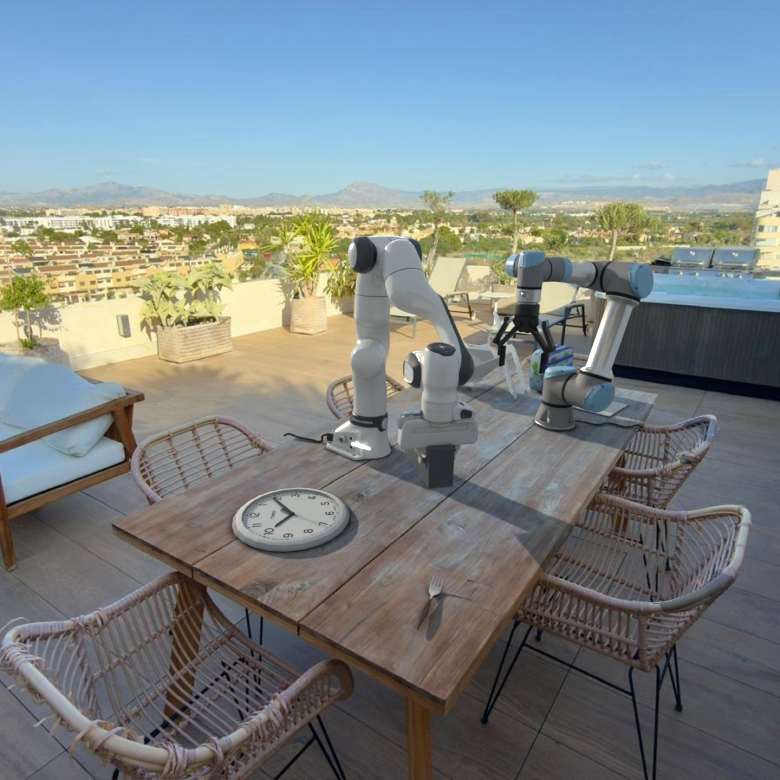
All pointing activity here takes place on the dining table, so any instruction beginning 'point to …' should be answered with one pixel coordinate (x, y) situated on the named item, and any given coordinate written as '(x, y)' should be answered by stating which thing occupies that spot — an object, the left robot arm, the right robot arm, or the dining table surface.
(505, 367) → the white plastic object
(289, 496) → the wall clock
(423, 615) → the fork
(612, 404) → the invitation card
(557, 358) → the lunch box
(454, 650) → the dining table surface
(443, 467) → the box
